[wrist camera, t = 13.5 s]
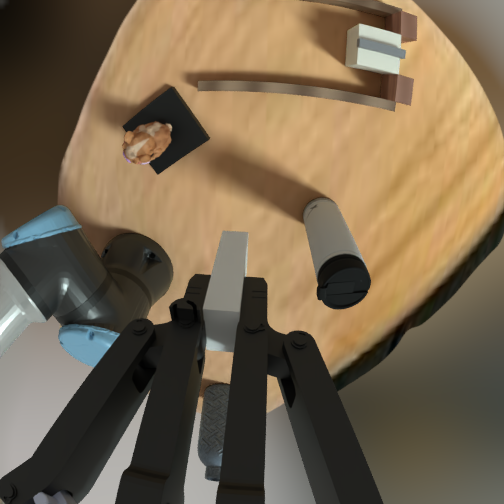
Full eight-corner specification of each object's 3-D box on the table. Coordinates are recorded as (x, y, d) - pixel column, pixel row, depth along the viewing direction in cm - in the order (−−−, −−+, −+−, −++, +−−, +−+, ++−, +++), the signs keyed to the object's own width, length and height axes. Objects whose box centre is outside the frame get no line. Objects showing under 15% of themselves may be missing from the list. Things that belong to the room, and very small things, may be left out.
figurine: (126, 124, 41) (87, 141, 31) (174, 86, 38) (143, 90, 28) (160, 171, 45) (131, 200, 35) (210, 138, 42) (191, 157, 32)
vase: (242, 383, 77) (234, 476, 53) (247, 402, 83) (241, 485, 59) (200, 382, 78) (185, 471, 54) (209, 401, 84) (197, 481, 61)
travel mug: (300, 197, 47) (319, 271, 30) (340, 196, 46) (378, 269, 29) (300, 231, 50) (315, 314, 33) (337, 230, 50) (368, 311, 33)
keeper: (343, 65, 35) (358, 63, 29) (346, 30, 31) (360, 21, 25) (383, 74, 34) (403, 74, 28) (386, 39, 31) (406, 34, 25)
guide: (202, 90, 38) (192, 91, 33) (206, -11, 29) (198, -23, 24) (392, 110, 38) (409, 115, 33) (400, 14, 28) (417, 7, 23)
